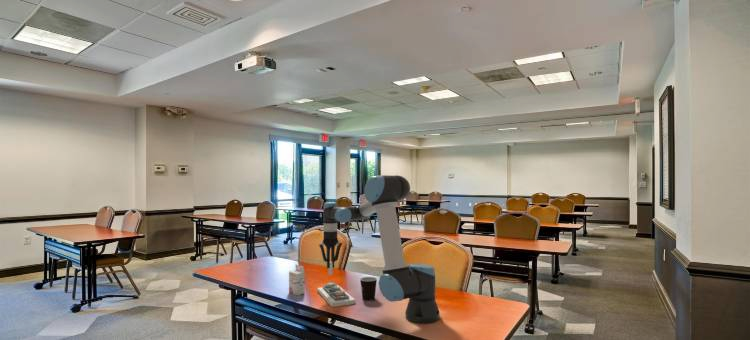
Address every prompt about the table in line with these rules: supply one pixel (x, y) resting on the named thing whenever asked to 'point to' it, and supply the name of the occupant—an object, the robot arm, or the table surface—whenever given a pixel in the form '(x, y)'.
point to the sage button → (330, 285)
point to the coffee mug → (368, 287)
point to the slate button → (334, 288)
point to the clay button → (339, 293)
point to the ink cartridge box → (297, 281)
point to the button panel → (335, 297)
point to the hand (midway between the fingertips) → (330, 273)
